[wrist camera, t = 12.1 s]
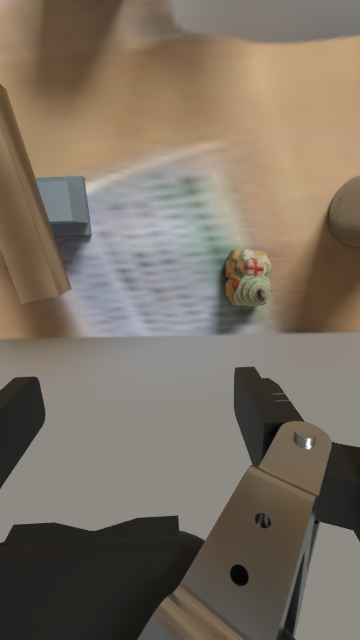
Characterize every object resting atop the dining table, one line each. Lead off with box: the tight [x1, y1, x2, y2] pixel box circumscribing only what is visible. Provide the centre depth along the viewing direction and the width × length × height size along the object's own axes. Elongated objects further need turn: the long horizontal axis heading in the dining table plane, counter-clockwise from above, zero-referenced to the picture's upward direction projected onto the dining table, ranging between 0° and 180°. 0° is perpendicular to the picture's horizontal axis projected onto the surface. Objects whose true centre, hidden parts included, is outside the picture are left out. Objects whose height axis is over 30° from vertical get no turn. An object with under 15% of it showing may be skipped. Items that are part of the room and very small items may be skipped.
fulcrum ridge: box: [35, 176, 92, 236], centre depth 33 cm, size 10×7×7 cm
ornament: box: [225, 249, 271, 307], centre depth 36 cm, size 8×6×10 cm
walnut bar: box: [0, 84, 71, 304], centre depth 28 cm, size 4×20×4 cm, turn 12°
